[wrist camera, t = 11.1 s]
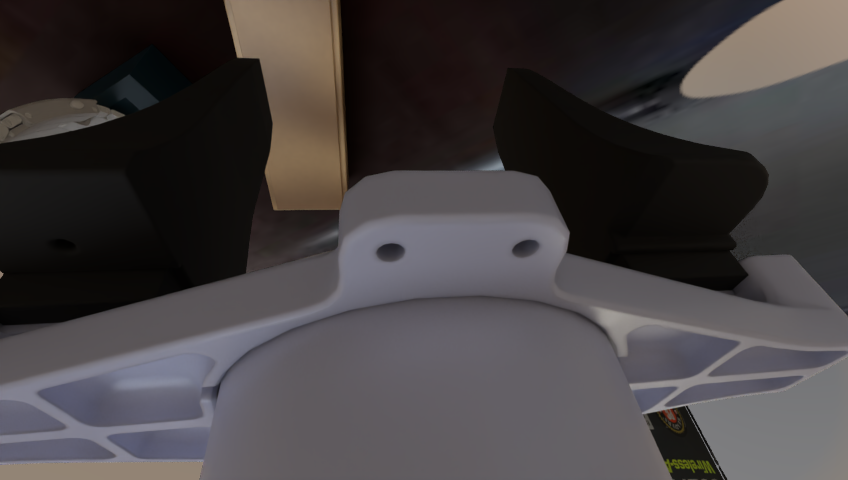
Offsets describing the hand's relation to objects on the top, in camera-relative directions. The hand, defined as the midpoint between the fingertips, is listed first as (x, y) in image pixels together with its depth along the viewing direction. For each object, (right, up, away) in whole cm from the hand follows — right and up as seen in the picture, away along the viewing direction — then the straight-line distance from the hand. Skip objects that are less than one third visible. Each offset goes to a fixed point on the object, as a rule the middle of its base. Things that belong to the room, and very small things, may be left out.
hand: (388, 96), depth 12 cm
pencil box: (-6, +4, +10) cm, 12 cm away
